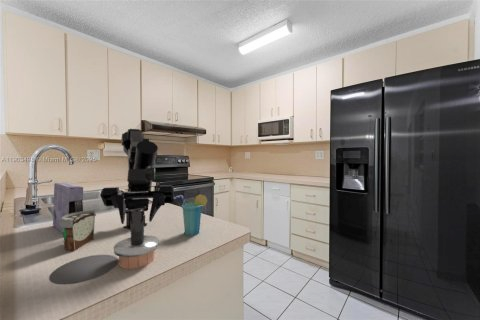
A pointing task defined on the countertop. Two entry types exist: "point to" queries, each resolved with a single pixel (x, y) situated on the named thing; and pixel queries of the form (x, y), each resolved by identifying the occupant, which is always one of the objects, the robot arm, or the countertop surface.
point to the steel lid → (136, 238)
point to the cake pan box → (66, 201)
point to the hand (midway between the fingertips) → (136, 222)
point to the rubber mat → (83, 269)
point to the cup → (192, 214)
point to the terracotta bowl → (136, 260)
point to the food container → (78, 229)
